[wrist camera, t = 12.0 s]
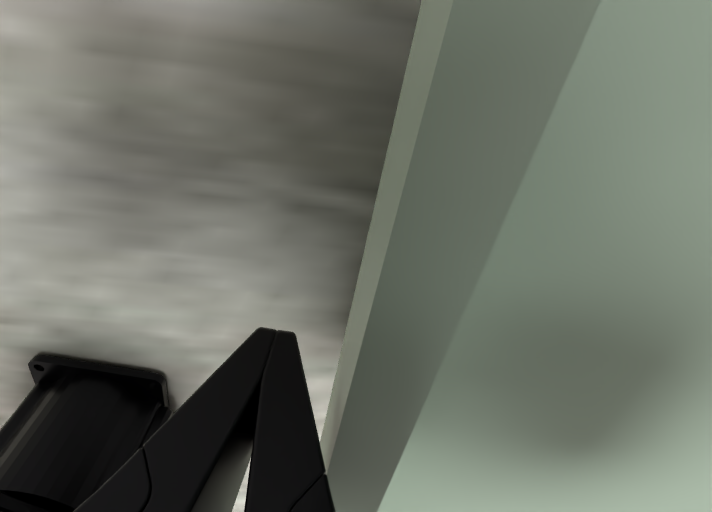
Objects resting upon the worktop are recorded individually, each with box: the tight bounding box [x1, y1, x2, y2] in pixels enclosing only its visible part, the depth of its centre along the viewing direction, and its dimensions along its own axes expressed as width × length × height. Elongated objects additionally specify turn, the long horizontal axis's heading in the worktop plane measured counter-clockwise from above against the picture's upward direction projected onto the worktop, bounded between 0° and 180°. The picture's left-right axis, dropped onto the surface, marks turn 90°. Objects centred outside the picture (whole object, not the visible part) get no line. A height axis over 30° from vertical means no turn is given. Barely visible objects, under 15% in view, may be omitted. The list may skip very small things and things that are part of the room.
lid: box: [320, 0, 712, 512], centre depth 9 cm, size 15×16×3 cm
